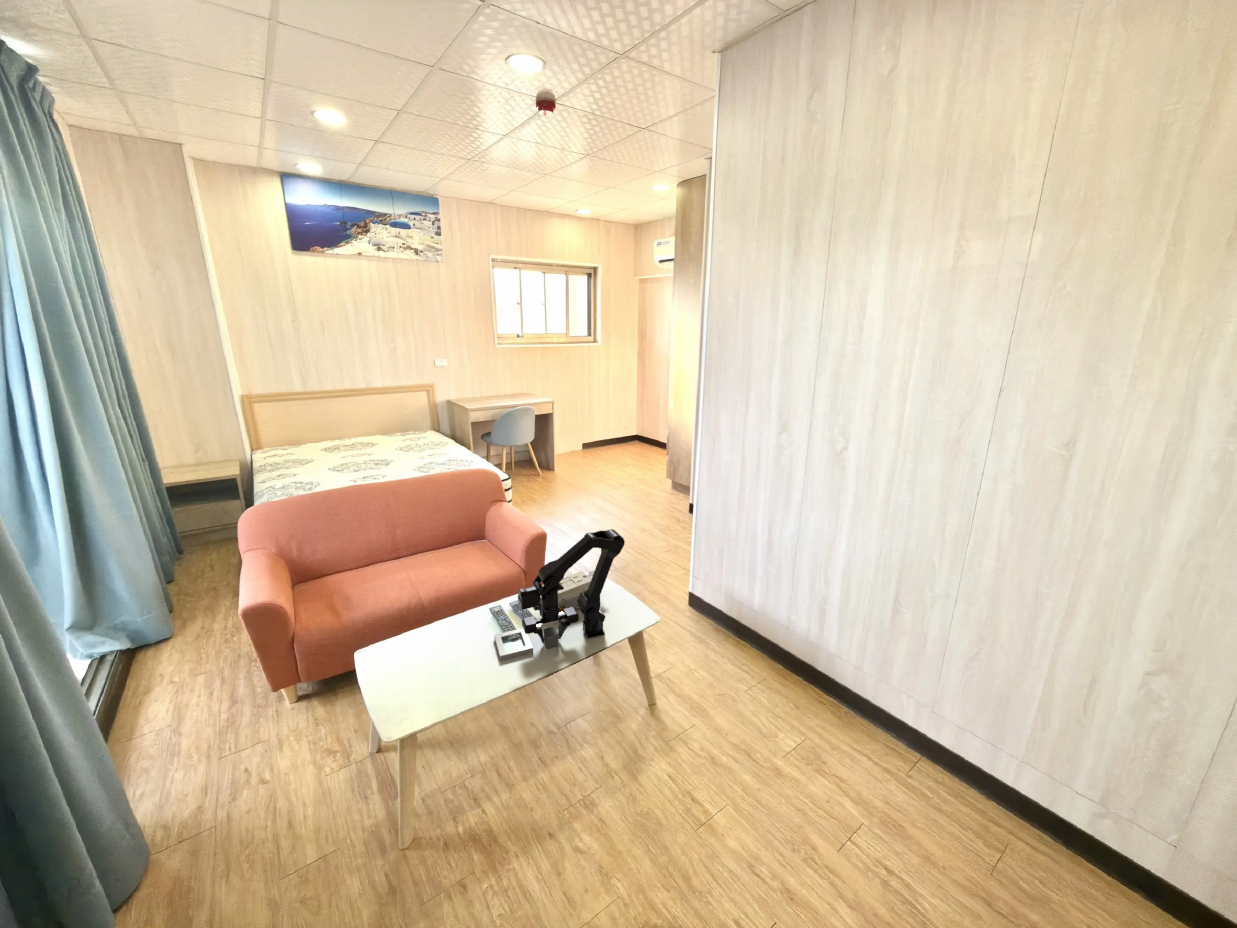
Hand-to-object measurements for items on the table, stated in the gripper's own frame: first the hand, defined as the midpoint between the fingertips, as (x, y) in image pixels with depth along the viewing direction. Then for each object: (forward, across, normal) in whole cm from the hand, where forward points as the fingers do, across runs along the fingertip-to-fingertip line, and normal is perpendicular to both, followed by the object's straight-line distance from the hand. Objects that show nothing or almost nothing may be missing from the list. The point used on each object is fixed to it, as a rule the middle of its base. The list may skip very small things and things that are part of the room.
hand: (551, 640), depth 168 cm
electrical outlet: (+1, -13, -21) cm, 24 cm away
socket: (+1, +12, -4) cm, 13 cm away
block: (+1, 0, 0) cm, 1 cm away
